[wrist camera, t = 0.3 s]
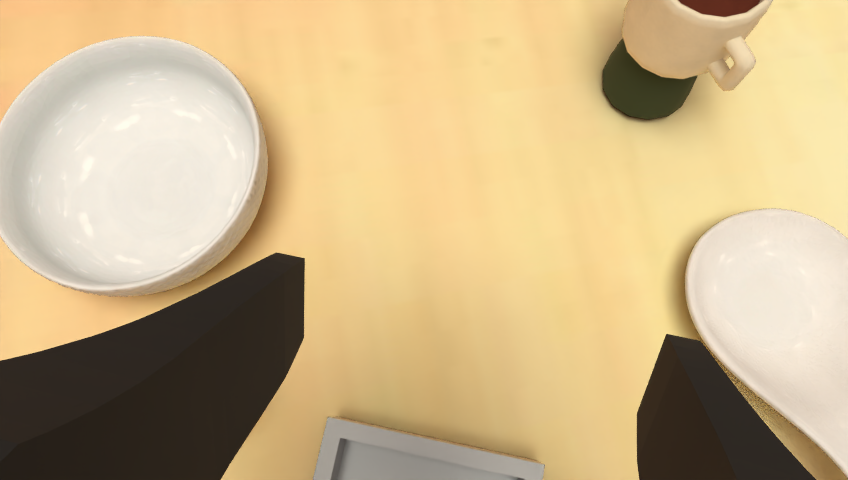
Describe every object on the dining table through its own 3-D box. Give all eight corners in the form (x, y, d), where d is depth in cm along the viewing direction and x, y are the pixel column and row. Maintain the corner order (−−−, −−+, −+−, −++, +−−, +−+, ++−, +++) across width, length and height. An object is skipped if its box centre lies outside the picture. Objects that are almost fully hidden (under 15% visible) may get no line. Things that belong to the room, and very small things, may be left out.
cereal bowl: (184, 358, 42) (135, 348, 36) (3, 227, 45) (-75, 194, 38) (332, 159, 46) (313, 115, 39) (155, 48, 49) (109, -11, 42)
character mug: (723, 128, 46) (830, 22, 33) (636, 167, 45) (712, 72, 33) (648, 9, 48) (722, -131, 36) (565, 43, 48) (610, -87, 35)
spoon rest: (643, 245, 44) (681, 214, 37) (803, 204, 44) (870, 166, 38) (776, 617, 38) (851, 663, 31) (960, 564, 38) (1075, 598, 31)
